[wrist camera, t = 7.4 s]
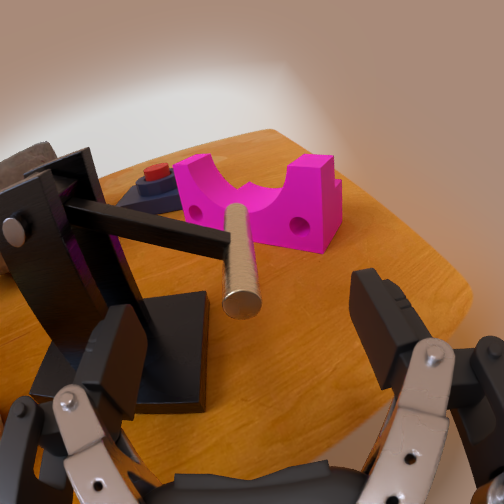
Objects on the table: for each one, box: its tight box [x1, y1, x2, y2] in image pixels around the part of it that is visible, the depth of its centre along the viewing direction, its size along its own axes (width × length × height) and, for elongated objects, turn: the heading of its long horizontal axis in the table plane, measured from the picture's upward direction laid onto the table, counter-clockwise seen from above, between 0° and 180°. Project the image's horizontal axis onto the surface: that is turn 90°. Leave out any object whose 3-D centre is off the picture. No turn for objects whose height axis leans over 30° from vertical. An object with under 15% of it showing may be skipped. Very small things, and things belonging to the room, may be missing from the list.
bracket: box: [0, 147, 209, 414], centre depth 14 cm, size 12×9×13 cm
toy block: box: [172, 154, 342, 254], centre depth 29 cm, size 15×6×8 cm, turn 60°
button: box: [144, 163, 170, 181], centre depth 39 cm, size 4×4×2 cm
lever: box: [25, 172, 262, 320], centre depth 13 cm, size 12×8×2 cm, turn 94°
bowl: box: [0, 141, 57, 275], centre depth 29 cm, size 20×20×15 cm
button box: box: [116, 168, 183, 215], centre depth 40 cm, size 12×9×4 cm
